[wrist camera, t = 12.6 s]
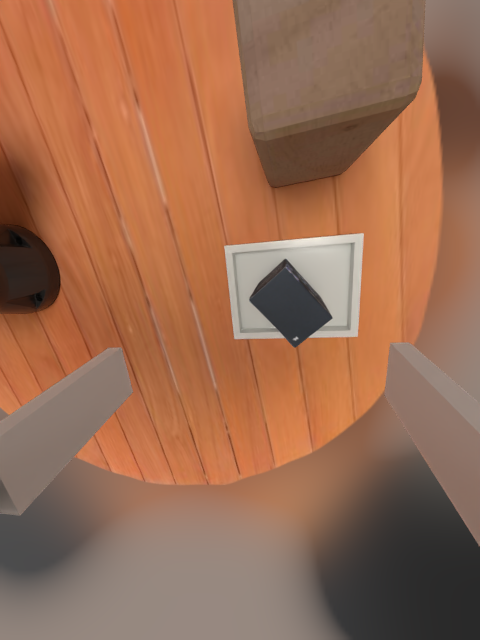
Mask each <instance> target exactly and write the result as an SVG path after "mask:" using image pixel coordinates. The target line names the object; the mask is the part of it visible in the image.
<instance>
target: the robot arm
mask: <svg viewBox="0 0 480 640" xmlns="http://www.w3.org/2000/svg"><path fill="white" fill-rule="evenodd" d="M59 285H60V279H59V272H58V268H57V265H56V262H55V260H54V258H53V256H52V254H51V252H50V251H49V249H48V248H47V247H46V245H45V244H44V243H43V242H42V241H41V240H40V239H39V238H38V237H37V236H36V235H35V234H33V233H32V232H30V231H29V230H27V229H25V228H22V227H20V226H16V225H0V314H27V313H33V312H36V311H39V310H42V309H45V308H47V307H49V306H50V305H51V304H52V303H53V302H54V301H55V299H56V297H57V295H58V292H59ZM132 393H133V390H132V386H131V382H130V378H129V374H128V371H127V367H126V363H125V359H124V355H123V351H122V348H108V349H106V350H105V351H103V352H102V353H100V354H99V355H97V356H96V357H94V358H93V359H91V360H90V361H88V362H87V363H86V364H84V365H83V366H81V367H80V368H78V369H77V370H75V371H74V372H72V373H71V374H69V375H68V376H66V377H65V378H63V379H62V380H60V381H59V382H58V383H56V384H55V385H53V386H52V387H50V388H49V389H47V390H46V391H44V392H43V393H41V394H40V395H38V396H37V397H35V398H34V399H32V400H31V401H30V402H28V403H27V404H25V405H24V406H22V407H21V408H19V409H18V410H16V411H15V412H13V413H12V414H10V415H9V416H7V417H6V418H4V419H3V420H2V421H0V513H3V514H13V515H21V514H22V513H23V512H24V510H25V509H26V508H27V507H28V506H29V505H30V504H31V503H32V502H33V501H34V500H35V499H36V497H37V496H38V495H39V494H40V493H41V492H42V491H43V490H44V489H45V488H46V486H47V485H48V484H49V483H50V482H51V481H52V480H53V479H54V478H55V477H56V475H57V474H58V473H59V472H60V471H61V470H62V469H63V468H64V467H65V466H66V465H67V463H68V462H69V461H70V460H71V459H72V458H73V457H74V456H75V455H76V454H77V453H78V452H79V450H80V449H81V448H82V447H83V446H84V445H85V444H86V443H87V442H88V441H89V440H90V438H91V437H92V436H93V435H94V434H95V433H96V432H97V431H98V430H99V429H100V428H101V426H102V425H103V424H104V423H105V422H106V421H107V420H108V419H109V418H110V417H111V416H112V414H113V413H114V412H115V411H116V410H117V409H118V408H119V407H120V406H121V405H122V404H123V402H124V401H125V400H126V399H127V398H128V397H129V396H130V395H131V394H132ZM385 398H386V399H387V401H388V402H389V404H390V405H391V407H392V409H393V410H394V412H395V413H396V415H397V416H398V418H399V420H400V421H401V423H402V424H403V426H404V428H405V429H406V431H407V432H408V434H409V436H410V437H411V439H412V440H413V442H414V443H415V445H416V447H417V448H418V449H419V451H420V453H421V454H422V456H423V458H424V459H425V461H426V462H427V464H428V466H429V467H430V469H431V470H432V472H433V473H434V475H435V476H436V478H437V480H438V481H439V483H440V484H441V486H442V488H443V489H444V491H445V492H446V494H447V495H448V497H449V499H450V500H451V502H452V503H453V505H454V506H455V508H456V510H457V511H458V513H459V514H460V516H461V518H462V519H463V521H464V522H465V524H466V526H467V527H468V529H469V530H470V532H471V533H472V535H473V537H474V538H475V540H476V541H477V543H478V545H479V546H480V403H479V402H478V401H476V400H475V399H474V398H473V397H472V396H471V395H469V394H468V393H467V392H466V391H465V390H464V389H462V388H461V387H460V386H459V385H458V384H457V383H456V382H454V381H453V380H452V379H451V378H450V377H449V376H447V375H446V374H445V373H444V372H443V371H442V370H440V369H439V368H438V367H437V366H436V365H435V364H433V363H432V362H431V361H430V360H429V359H427V358H426V357H425V356H424V355H423V354H422V353H421V352H420V351H418V350H417V349H416V348H415V347H414V346H413V345H412V344H410V343H390V350H389V359H388V368H387V377H386V386H385Z"/></svg>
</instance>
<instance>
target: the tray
mask: <svg viewBox="0 0 480 640" xmlns="http://www.w3.org/2000/svg"><path fill="white" fill-rule="evenodd" d="M363 237H364V233H355V234H344V235H333V236H323V237H312V238H301V239H290V240H279V241H268V242H257V243H246V244H235V245H227V246H224V247H225V257H226V266H227V275H228V285H229V294H230V303H231V313H232V322H233V332H234V339H267V338H285V337H284V336H283V335H282V334H281V333H280V332H279V331H278V330H277V329H276V328H275V327H274V326H273V325H272V323H271V322H270V321H269V320H268V319H267V318H266V317H265V316H264V315H263V314H262V313H261V312H260V311H259V310H258V309H257V308H256V307H255V306H254V305H253V304H251V303H250V302H249V298H250V296H251V295H252V293H253V291H254V290H255V288H256V286H257V285H258V283H259V282H260V281H261V280H262V279H263V278H265V277H266V276H267V275H268V274H269V273H270V272H271V271H272V270H273V269H274V268H275V267H277V266H278V265H279V264H280V263H281V262H282V261H283V260H284V259H287V260H288V261H289V262H290V264H291V265H292V266H293V267H294V268H295V269H296V270H297V272H298V273H299V274H300V275H301V276H302V277H303V278H304V279H305V280H306V281H307V282H308V284H309V285H310V286H311V287H312V288H313V289H314V290H315V291H316V292H317V293H318V294H319V295H320V297H321V298H322V300H323V302H324V303H325V305H326V307H327V309H328V310H329V312H330V314H331V316H332V318H333V319H331V320H330V321H329V322H328V323H326V324H325V325H324V326H323V327H321V328H320V329H319V330H317V331H316V332H315V333H313V334H312V335H311V336H309V337H308V338H319V337H358V324H359V307H360V289H361V272H362V254H363Z"/></svg>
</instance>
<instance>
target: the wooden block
mask: <svg viewBox="0 0 480 640" xmlns="http://www.w3.org/2000/svg"><path fill="white" fill-rule="evenodd" d="M233 7H234V15H235V23H236V31H237V39H238V47H239V55H240V63H241V71H242V79H243V87H244V95H245V103H246V110H247V118H248V126H249V130H250V132H251V135H252V138H253V141H254V144H255V147H256V150H257V152H258V155H259V158H260V161H261V164H262V167H263V169H264V172H265V175H266V178H267V181H268V183H269V185H270V186H272V187H280V186H285V185H290V184H295V183H299V182H304V181H309V180H314V179H319V178H324V177H329V176H333V175H338V174H341V173H343V172H344V171H346V170H347V169H348V168H349V167H350V166H351V164H352V163H353V162H354V161H355V160H356V159H357V158H358V157H359V156H360V155H361V154H362V153H363V152H364V151H365V150H366V149H367V148H368V147H369V146H370V145H371V144H372V143H373V142H374V140H375V139H376V138H377V137H378V136H379V135H380V134H381V133H382V132H383V131H384V130H385V129H386V128H387V127H388V126H389V125H390V124H391V123H392V122H393V121H394V120H395V119H396V118H397V116H398V115H399V114H400V113H401V112H402V111H403V110H404V109H405V108H406V107H407V106H408V105H409V104H410V103H411V102H412V101H413V100H414V99H415V97H416V95H417V92H418V89H419V87H420V84H421V81H422V64H423V42H424V20H425V0H233Z"/></svg>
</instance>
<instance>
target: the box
mask: <svg viewBox="0 0 480 640" xmlns="http://www.w3.org/2000/svg"><path fill="white" fill-rule="evenodd" d="M249 302H250V303H251V304H253V305H254V306H255V307H256V308H257V309H258V310H259V311H260V312H261V313H262V314H263V315H264V316H265V317H266V318H267V319H268V320H269V321H270V322H271V323H272V325H273V326H274V327H275V328H276V329H277V330H278V331H279V332H280V333H281V334H282V335H283V336H284V337H285V338H286V339H287V340H288V342H289V343H290V344H291V345H292V346H293V347H297V346H298V345H299V344H300V343H302V342H303V341H304V340H306V339H307V338H308V337H309V336H311V335H312V334H313V333H315V332H316V331H317V330H319V329H320V328H321V327H323V326H324V325H325V324H326V323H328V322H329V321H330V320H331V319H333V318H332V316H331V314H330V312H329V310H328V309H327V307H326V305H325V303H324V302H323V300H322V298H321V297H320V295H319V294H318V293H317V292H316V291H315V290H314V289H313V288H312V287H311V286H310V285H309V284H308V282H307V281H306V280H305V279H304V278H303V277H302V276H301V275H300V274H299V273H298V272H297V270H296V269H295V268H294V267H293V266H292V265H291V264H290V262H289V261H288V260H287V259H284V260H283V261H282V262H281V263H280V264H279V265H278V266H277V267H275V268H274V269H273V270H272V271H271V272H270V273H269V274H268V275H267V276H266V277H265V278H263V279H262V280H261V281H260V282H259V283H258V285H257V286H256V288H255V290H254V291H253V293H252V295H251V296H250V298H249Z"/></svg>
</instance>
